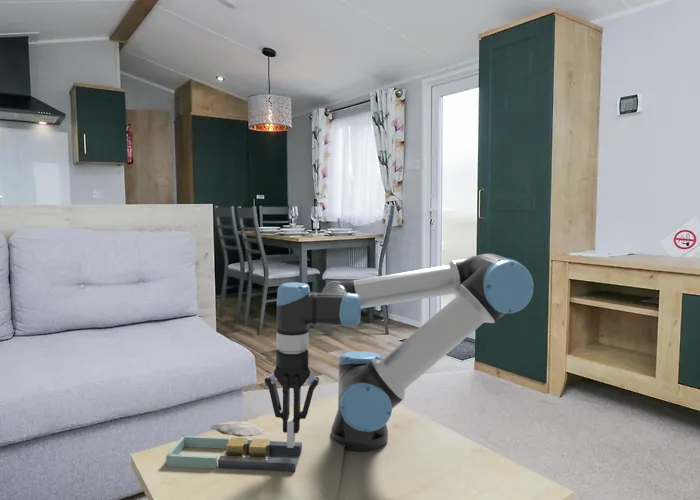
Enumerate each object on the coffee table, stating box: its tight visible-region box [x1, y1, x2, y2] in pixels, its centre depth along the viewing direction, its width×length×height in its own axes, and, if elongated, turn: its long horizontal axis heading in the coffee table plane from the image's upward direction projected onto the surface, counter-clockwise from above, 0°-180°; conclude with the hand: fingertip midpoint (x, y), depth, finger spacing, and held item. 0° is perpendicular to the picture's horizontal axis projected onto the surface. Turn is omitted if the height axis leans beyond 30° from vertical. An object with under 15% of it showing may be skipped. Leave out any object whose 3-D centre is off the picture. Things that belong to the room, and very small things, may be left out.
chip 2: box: [249, 438, 270, 458], centre depth 121 cm, size 4×4×4 cm
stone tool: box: [210, 421, 265, 437], centre depth 136 cm, size 8×3×15 cm
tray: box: [165, 435, 230, 469], centre depth 122 cm, size 12×10×3 cm
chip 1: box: [225, 437, 248, 457], centre depth 121 cm, size 4×4×4 cm
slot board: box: [217, 439, 303, 473], centre depth 121 cm, size 18×10×3 cm, turn 86°
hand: (290, 444), depth 120 cm, fingers closed
